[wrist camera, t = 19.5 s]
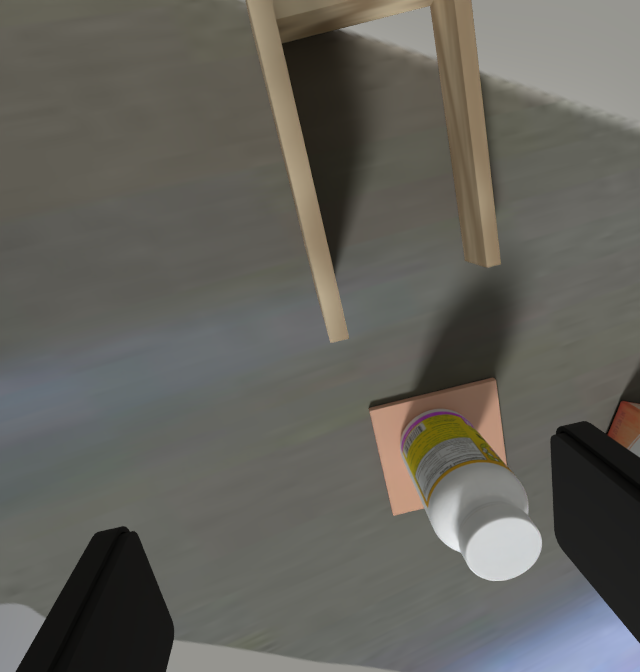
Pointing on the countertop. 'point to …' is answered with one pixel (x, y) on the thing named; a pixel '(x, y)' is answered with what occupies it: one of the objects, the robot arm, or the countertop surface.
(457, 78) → the shelf bay
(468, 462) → the supplement bottle
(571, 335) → the countertop surface
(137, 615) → the robot arm
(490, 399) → the coaster
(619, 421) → the cracker box
